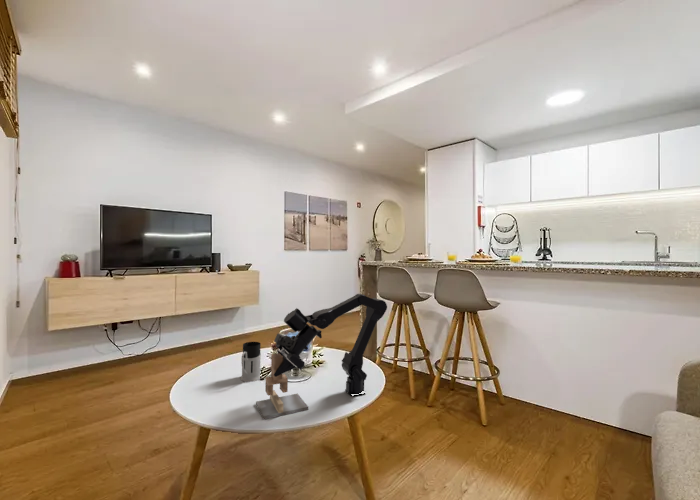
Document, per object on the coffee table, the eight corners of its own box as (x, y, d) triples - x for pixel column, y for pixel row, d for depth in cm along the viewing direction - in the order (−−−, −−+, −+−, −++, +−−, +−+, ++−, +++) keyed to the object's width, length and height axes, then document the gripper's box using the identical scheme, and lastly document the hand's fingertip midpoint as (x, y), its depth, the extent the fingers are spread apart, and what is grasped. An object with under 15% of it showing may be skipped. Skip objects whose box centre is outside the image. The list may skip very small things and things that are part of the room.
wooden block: (284, 387, 121) (284, 352, 121) (287, 391, 118) (288, 355, 118) (265, 391, 118) (265, 355, 118) (268, 395, 115) (268, 358, 115)
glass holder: (264, 374, 149) (264, 341, 149) (251, 387, 135) (252, 351, 135) (245, 373, 150) (246, 340, 150) (231, 386, 136) (232, 350, 136)
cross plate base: (297, 396, 128) (297, 385, 128) (308, 409, 117) (308, 398, 117) (255, 404, 120) (255, 393, 120) (263, 419, 110) (263, 407, 110)
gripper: (281, 320, 128) (251, 352, 123) (296, 331, 112) (263, 368, 107) (300, 338, 132) (272, 370, 127) (317, 351, 115) (286, 388, 110)
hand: (272, 373), depth 117 cm, fingers closed on wooden block, 4 cm apart
